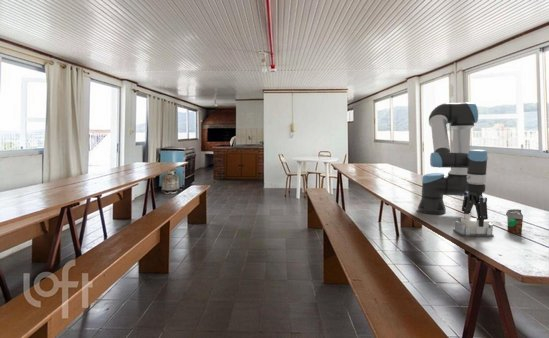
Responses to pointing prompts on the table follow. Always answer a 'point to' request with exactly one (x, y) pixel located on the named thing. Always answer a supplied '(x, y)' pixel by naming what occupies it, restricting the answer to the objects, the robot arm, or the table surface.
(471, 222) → the cream rectangular block
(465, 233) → the mount
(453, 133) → the robot arm
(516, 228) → the food container
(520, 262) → the table surface
